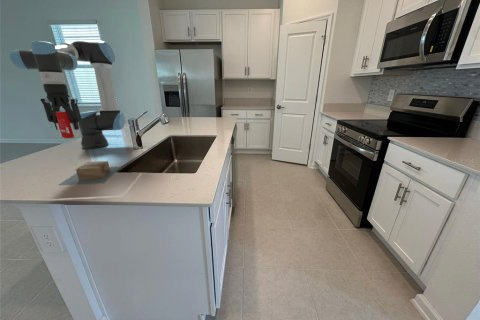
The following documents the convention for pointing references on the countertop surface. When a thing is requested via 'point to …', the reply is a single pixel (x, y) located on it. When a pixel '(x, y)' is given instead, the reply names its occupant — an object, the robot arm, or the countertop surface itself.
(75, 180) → the mat
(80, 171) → the base block
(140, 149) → the countertop surface
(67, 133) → the beverage can
